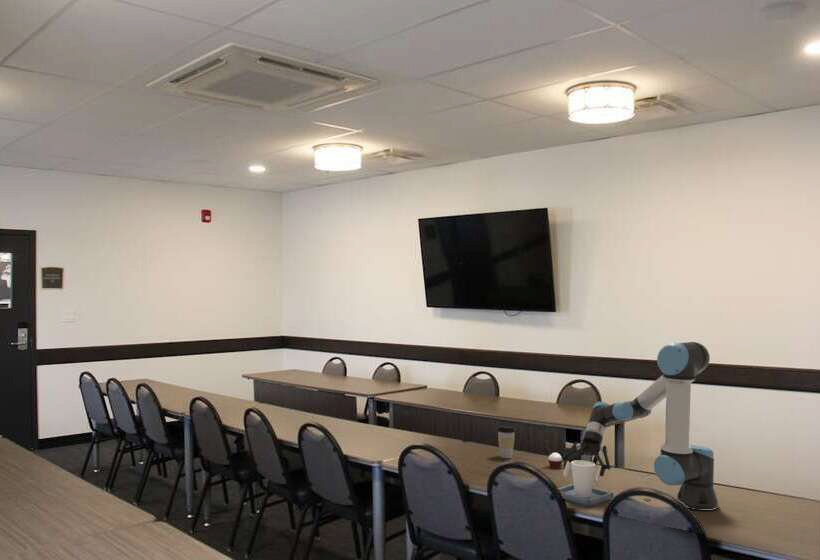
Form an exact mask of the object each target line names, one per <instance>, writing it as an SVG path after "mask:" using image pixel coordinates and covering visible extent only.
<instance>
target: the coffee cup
mask: <svg viewBox="0 0 820 560" xmlns="http://www.w3.org/2000/svg"><path fill="white" fill-rule="evenodd" d="M496 431H497V434H498V435H497V439H498V447H499V448H498V449H499V456H500V458H503V459H511V458H512V457H513V453H514V446H515V433H516V432H517V429H516V428H515V426H514V425H510V424H509V425H508V424H503V425H502V424H501V425H498V427H497V428H496Z"/></svg>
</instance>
